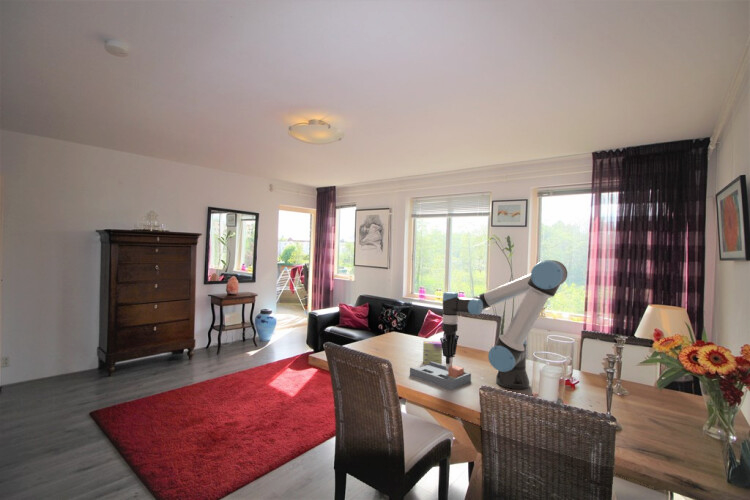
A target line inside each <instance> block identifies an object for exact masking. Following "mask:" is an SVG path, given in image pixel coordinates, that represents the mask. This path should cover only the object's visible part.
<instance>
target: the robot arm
mask: <svg viewBox="0 0 750 500" xmlns="http://www.w3.org/2000/svg"><path fill="white" fill-rule="evenodd" d="M567 278H568V269H567V267H566V266H565V264H563V263H562V262H560V261H558V260H551V259H550V260H549V259H548V260H547V259H546V260H545V259H544V260H541V261H539V262H537V263H536V264H535V265H534V266H533V267H532V269H531V272H530V273H529V274H526V275H524V276H522V277H520V278H517V279H515V280H512V281H509V282H507V283H504V284H502V285H500V286H497V287H495V288H493V289H490V290H488V291H486V292H484V293H480V294H478V295H476V296H472V297H471V296H470V297H463V296H462V297H461V296H459V292H456V291H445V292H444V293H443V295H442V324H441V325H442V326H441V329H442V331H443V336H442V337H440V339H439V342H441V344H442V357H445V366H446V370H448V368H449V367H451V366H453V358H455V355H456V354H457V346H458V340H459V338H460V337H459V335H458V334H457V332H458V325H459V324H458V323H459V317H458V316H459V313H461V314H462V313H463V314H469V315H481V314H482V312H483V310H486V309H488V308H490V307H491V308H492V306H496V305H497V304H501V303H504V302H506V301H509V300H512V299H515V298H516V297H519V296H522V295H524V297H523V299H522V301H521V303H520V304H519V306H518V308H517V310H516V312H515V314H514V316H513V318H512V319H511V321H510V323H509V326H508V327H507V329H506V331H505V333H504V334H501V335H500V334H499V337H498V338H497V340H496V342H495V344H494V345H493V346H492V347H491V348H490V350H489V351H488V354H487V355H488V356H487V357H488V358H487V359H488V362H489V363H490V365H491V366H492V367H493V368H494V370H497V374H496V377H495V382H496V384H497V385H499V386H501V387H503V388H507V389H510V388H512V389H511V390H526V389H529V387H530V380H529V376H528V373H527V370H526V369H527V367H526V365H527V363H526V362H527V338H528V336H529V334H530V332H531V330H532V329H533V327H534V325H535V323H536V321H537V320H538V318H539V315H540V314H541V312H542V311H543V308H544V307H545V304H546V303H547V301H548V300H549V298H552V297H553V298H554V296H556V295H555V294H556V293H557V291H558V289H559V288H560V286H561V285H562V284H564V283H565V281H566V280H567Z"/></svg>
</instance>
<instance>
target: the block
mask: <svg viewBox="0 0 750 500" xmlns="http://www.w3.org/2000/svg"><path fill="white" fill-rule="evenodd" d="M464 371H465V369H464V368H463V367H460V366H457V365H452V366H451V367H449V368H448V376H451V377H454V378H457V377H459V376H462V375H464Z"/></svg>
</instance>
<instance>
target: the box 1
mask: <svg viewBox="0 0 750 500" xmlns="http://www.w3.org/2000/svg"><path fill="white" fill-rule="evenodd" d="M422 347H423V349H422V362H423V363H422V364H425V365H426V364H427V365H429V362H430V361H432V362H435V363H438V364H442V363H443V361H442V360H443V359H442V358H443V351H442V344H441V341H434V340H423V345H422ZM442 365H443V364H442Z"/></svg>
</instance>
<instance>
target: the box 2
mask: <svg viewBox="0 0 750 500" xmlns="http://www.w3.org/2000/svg"><path fill="white" fill-rule="evenodd" d="M409 376H411V377H413V378H415V379H419V380H421V381H424V382H427V383H430V384H432V385H434V386H435V385H436V386H438V387H441V388H444V389H447V390H449V391H452V390H453V389H457V388H458V387H461V386H463V385H465V384H468V383H471V380H472V373H471V372H467V371H465V370H464V375H462V376H459V377H457V378H454V377H451V376H448V370H446V364H438V363H435V362H432V361H430V362H429V364H427V365H426V364H425V365H424V366H420V367H417V368H415V367H413V366H412V367H409Z"/></svg>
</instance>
